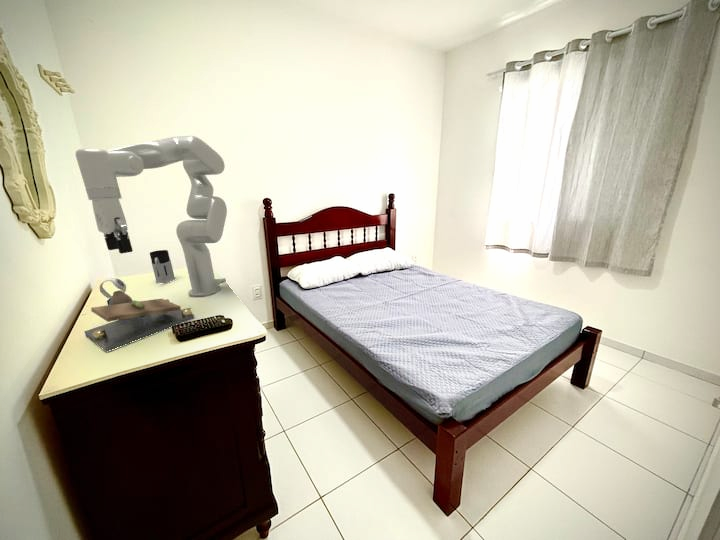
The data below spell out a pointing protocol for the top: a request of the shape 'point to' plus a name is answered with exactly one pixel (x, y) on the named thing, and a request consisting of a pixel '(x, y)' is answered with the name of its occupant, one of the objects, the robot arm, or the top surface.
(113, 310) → the plate
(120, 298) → the vase
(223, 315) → the top surface
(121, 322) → the base
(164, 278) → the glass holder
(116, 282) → the watch
